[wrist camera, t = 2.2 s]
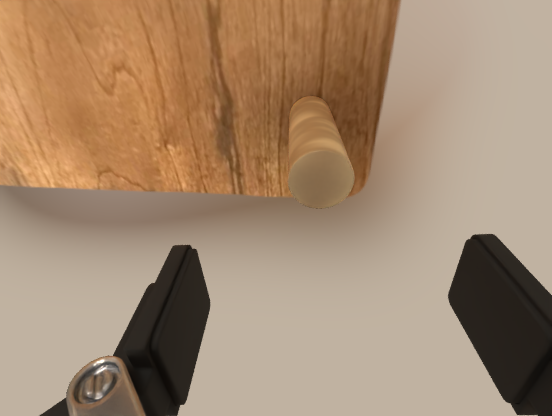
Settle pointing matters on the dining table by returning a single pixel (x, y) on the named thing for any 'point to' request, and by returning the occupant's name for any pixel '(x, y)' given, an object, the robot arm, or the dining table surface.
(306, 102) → the beige marbled cylinder
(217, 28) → the dining table surface
